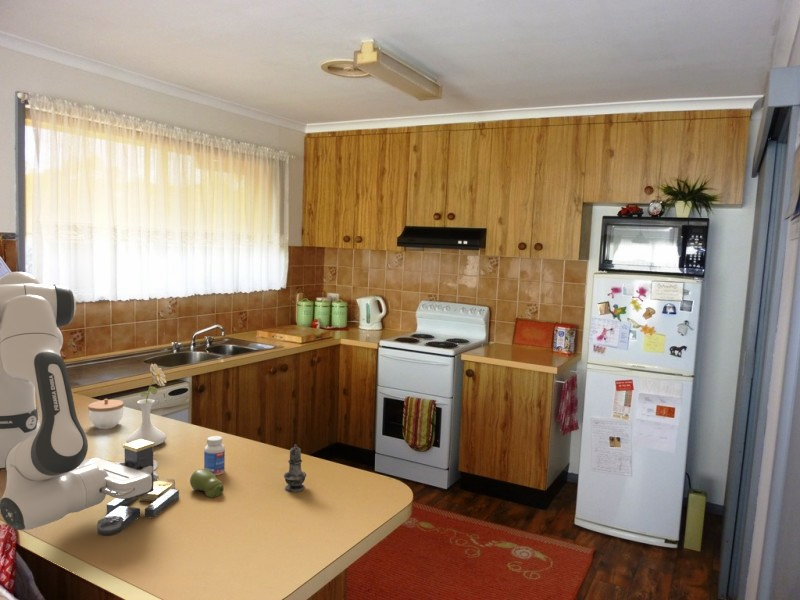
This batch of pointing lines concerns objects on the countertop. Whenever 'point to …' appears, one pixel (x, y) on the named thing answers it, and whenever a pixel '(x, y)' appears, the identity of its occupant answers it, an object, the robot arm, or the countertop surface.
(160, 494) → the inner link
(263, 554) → the countertop surface
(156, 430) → the flower in vase
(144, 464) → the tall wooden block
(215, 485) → the pear
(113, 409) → the lidded jar
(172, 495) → the grey metal bars
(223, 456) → the pill bottle
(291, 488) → the salt shaker
